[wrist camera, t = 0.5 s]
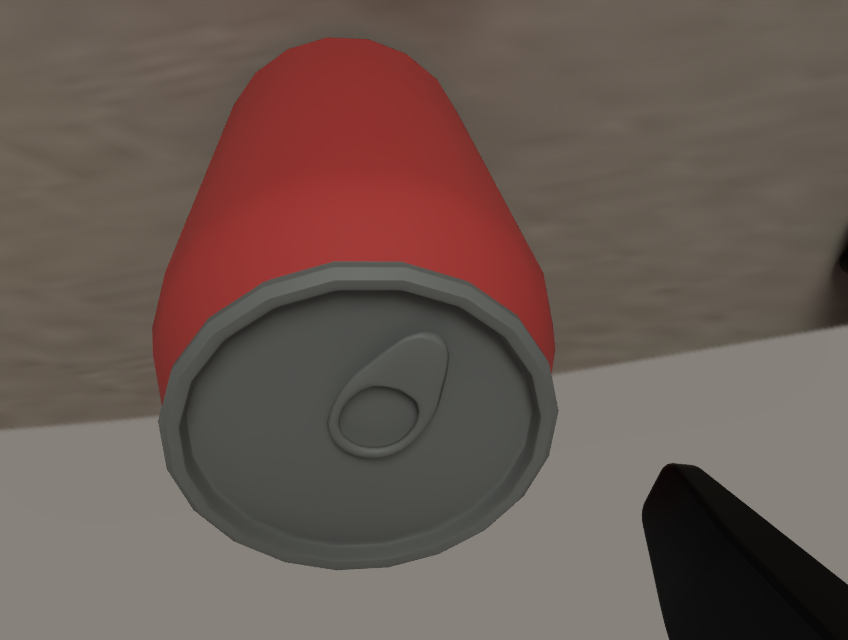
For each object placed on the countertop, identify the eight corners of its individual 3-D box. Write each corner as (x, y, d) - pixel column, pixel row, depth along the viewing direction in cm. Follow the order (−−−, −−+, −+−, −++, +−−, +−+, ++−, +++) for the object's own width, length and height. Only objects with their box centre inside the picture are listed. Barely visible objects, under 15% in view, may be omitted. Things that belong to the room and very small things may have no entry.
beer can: (505, 109, 20) (690, 356, 10) (391, 290, 22) (442, 630, 12) (288, -20, 17) (234, 129, 7) (191, 200, 20) (52, 530, 10)
